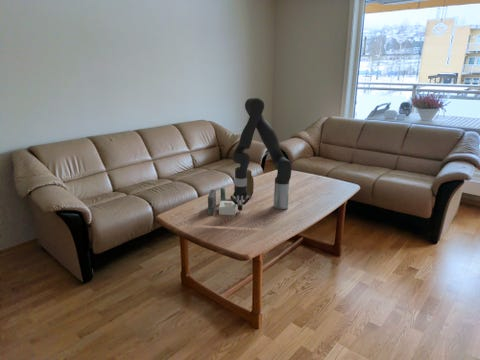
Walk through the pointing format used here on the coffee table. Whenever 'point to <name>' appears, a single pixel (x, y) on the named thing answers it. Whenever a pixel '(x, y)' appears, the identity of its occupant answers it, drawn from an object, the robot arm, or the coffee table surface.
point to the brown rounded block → (249, 183)
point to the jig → (211, 202)
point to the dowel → (222, 194)
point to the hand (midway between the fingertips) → (240, 210)
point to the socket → (227, 208)
